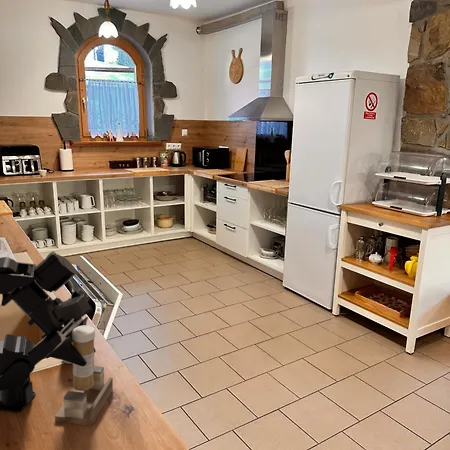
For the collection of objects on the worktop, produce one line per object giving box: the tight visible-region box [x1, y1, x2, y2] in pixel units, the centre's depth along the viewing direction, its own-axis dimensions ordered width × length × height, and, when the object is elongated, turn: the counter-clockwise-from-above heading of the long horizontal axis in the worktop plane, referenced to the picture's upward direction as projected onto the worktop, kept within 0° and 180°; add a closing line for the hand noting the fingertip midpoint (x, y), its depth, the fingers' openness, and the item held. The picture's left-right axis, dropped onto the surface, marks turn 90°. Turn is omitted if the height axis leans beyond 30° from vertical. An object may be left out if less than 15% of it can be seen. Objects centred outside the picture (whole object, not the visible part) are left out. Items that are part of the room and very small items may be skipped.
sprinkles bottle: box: [72, 324, 96, 391], centre depth 91 cm, size 5×5×13 cm
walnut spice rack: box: [54, 365, 114, 427], centre depth 94 cm, size 8×12×6 cm, turn 174°
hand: (89, 358), depth 91 cm, fingers closed on sprinkles bottle, 4 cm apart
